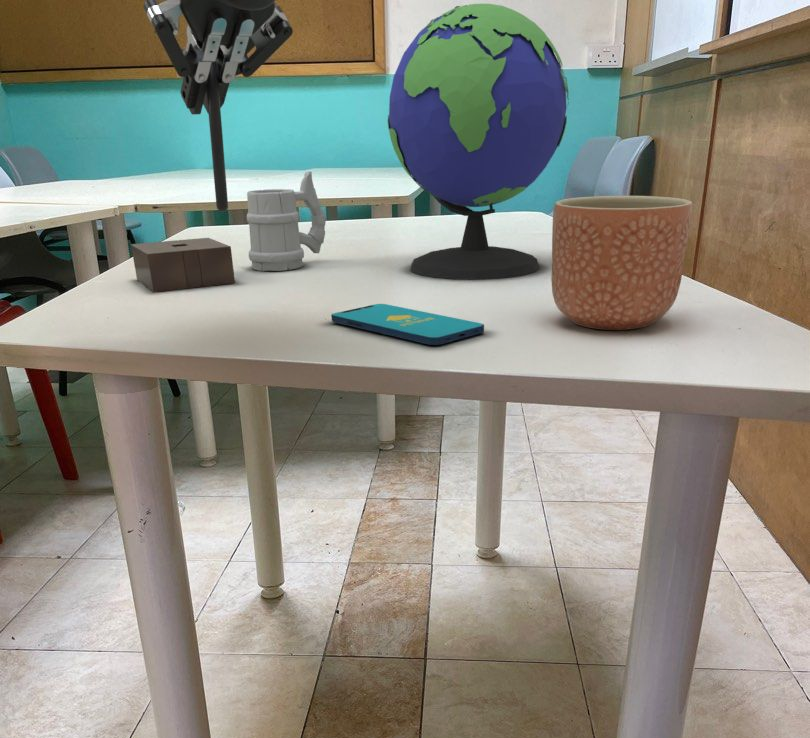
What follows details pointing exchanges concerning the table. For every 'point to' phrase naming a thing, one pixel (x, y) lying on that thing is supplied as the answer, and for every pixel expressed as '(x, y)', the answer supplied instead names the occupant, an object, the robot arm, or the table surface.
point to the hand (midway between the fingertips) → (199, 107)
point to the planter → (618, 258)
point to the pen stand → (183, 264)
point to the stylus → (216, 138)
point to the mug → (283, 226)
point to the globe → (477, 125)
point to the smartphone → (408, 323)
